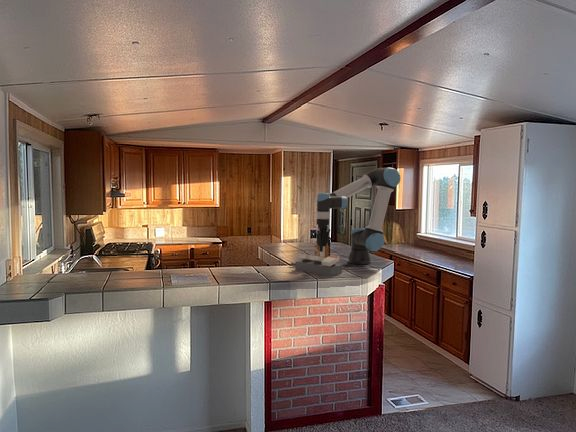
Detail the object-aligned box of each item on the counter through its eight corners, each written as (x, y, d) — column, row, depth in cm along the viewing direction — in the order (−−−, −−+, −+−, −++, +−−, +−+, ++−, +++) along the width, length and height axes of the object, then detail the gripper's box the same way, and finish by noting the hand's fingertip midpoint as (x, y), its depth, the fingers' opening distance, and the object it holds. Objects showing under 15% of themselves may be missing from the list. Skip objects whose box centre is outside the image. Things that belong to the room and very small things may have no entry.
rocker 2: (318, 261, 275) (319, 256, 276) (326, 262, 272) (327, 257, 272) (309, 259, 268) (310, 254, 268) (317, 260, 264) (318, 255, 264)
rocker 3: (331, 258, 270) (330, 254, 269) (339, 260, 266) (339, 255, 265) (321, 265, 263) (321, 260, 262) (330, 266, 259) (329, 262, 258)
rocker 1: (307, 259, 281) (308, 254, 282) (315, 260, 277) (315, 255, 278) (297, 257, 274) (298, 252, 274) (305, 258, 270) (306, 254, 270)
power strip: (296, 265, 289) (296, 255, 288) (341, 273, 266) (342, 263, 265) (285, 267, 280) (285, 258, 280) (331, 276, 258) (331, 266, 257)
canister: (312, 264, 291) (312, 234, 289) (326, 263, 296) (327, 233, 294) (318, 267, 283) (319, 235, 281) (333, 265, 288) (334, 235, 286)
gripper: (324, 217, 278) (323, 254, 280) (311, 218, 268) (310, 257, 270) (334, 218, 273) (333, 256, 275) (321, 219, 263) (320, 258, 265)
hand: (322, 256), depth 273 cm, fingers closed
